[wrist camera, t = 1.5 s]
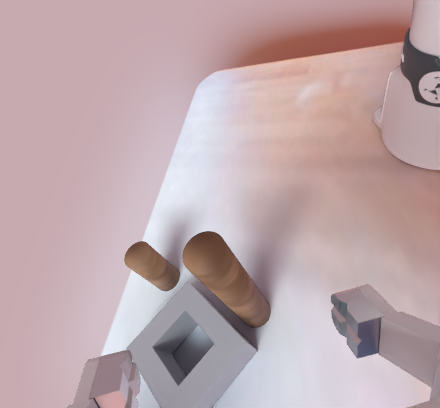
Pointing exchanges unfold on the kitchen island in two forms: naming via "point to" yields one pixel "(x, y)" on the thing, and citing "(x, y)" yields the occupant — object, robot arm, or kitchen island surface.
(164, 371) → the socket block
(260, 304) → the long dowel
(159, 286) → the short dowel
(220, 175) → the kitchen island surface
